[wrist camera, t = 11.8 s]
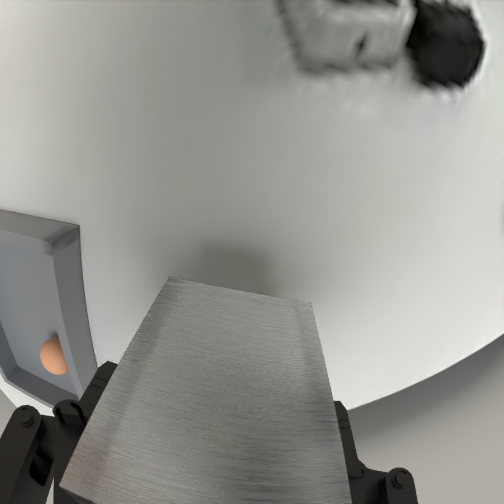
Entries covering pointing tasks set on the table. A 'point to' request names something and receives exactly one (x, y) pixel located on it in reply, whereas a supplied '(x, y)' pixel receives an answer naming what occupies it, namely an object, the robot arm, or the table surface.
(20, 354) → the tray
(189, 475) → the u-shaped arch block
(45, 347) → the mixing ball
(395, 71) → the table surface
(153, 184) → the table surface
